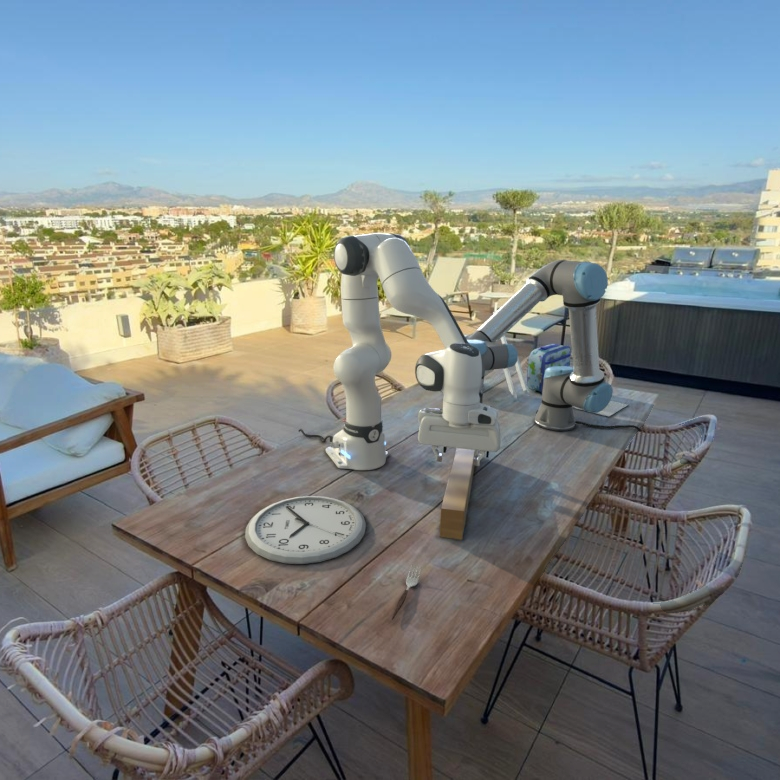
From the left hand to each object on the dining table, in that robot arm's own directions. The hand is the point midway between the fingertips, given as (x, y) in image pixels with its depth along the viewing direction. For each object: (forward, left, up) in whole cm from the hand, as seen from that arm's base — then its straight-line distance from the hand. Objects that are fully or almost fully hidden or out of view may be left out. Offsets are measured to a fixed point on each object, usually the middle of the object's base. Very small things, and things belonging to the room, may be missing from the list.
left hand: (457, 462), depth 131 cm
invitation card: (-34, +116, -17) cm, 122 cm away
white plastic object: (-77, +85, -17) cm, 116 cm away
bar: (-12, +13, -17) cm, 24 cm away
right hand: (-24, +26, -13) cm, 38 cm away
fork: (+16, -28, -17) cm, 36 cm away
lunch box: (-65, +117, -17) cm, 135 cm away
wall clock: (-18, -33, -17) cm, 41 cm away
